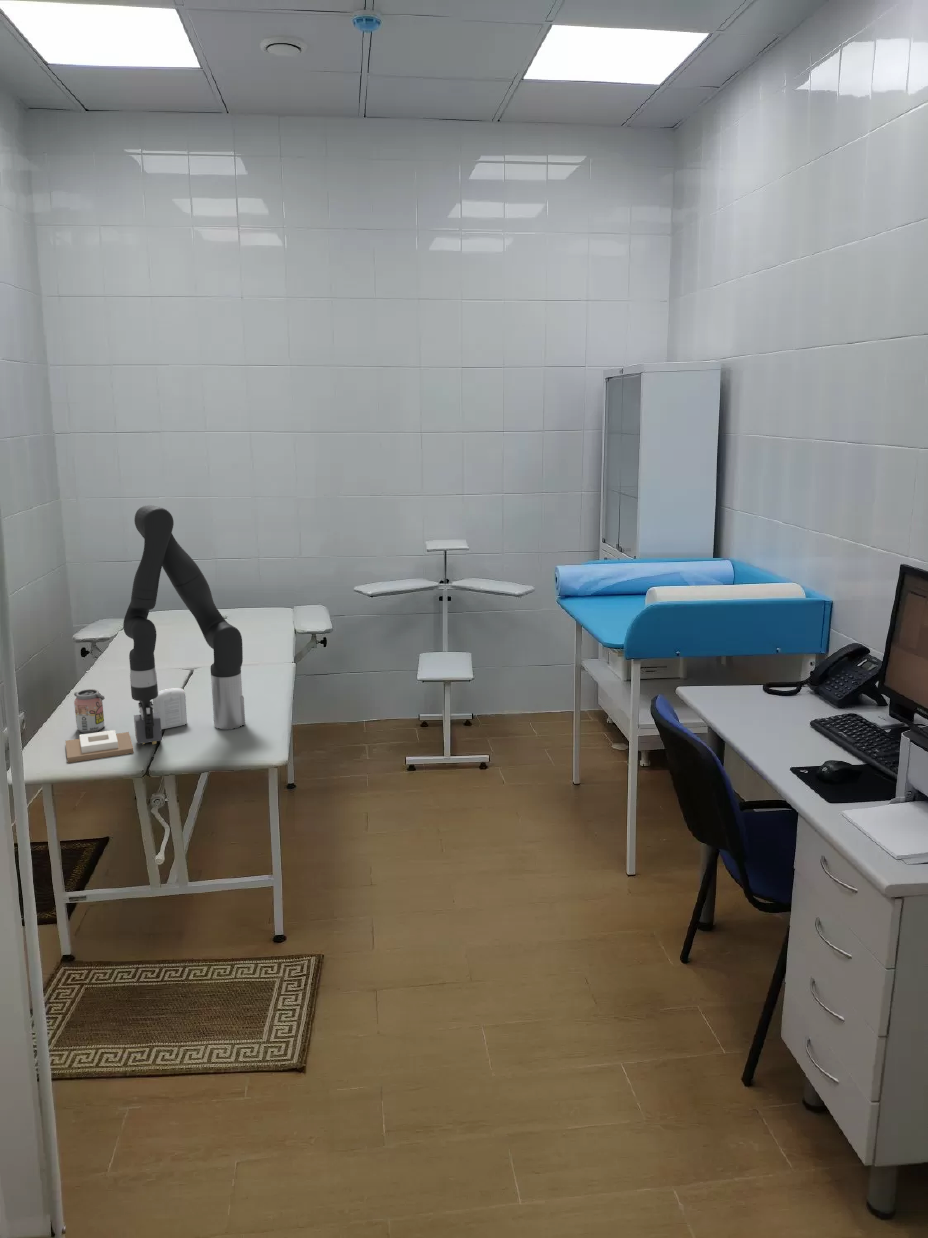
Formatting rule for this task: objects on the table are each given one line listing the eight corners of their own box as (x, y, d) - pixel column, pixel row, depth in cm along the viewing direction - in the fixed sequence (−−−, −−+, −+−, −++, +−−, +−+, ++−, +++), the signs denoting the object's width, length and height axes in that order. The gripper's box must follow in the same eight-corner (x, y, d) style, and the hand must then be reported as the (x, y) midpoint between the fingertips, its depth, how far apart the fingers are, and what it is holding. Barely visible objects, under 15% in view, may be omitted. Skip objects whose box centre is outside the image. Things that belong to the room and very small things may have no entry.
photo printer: (184, 720, 304) (182, 684, 300) (189, 724, 300) (186, 688, 297) (152, 727, 298) (149, 690, 295) (157, 731, 294) (153, 694, 291)
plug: (160, 738, 289) (157, 712, 287) (162, 744, 284) (160, 718, 282) (136, 741, 286) (133, 715, 284) (137, 748, 281) (135, 721, 279)
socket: (129, 736, 290) (128, 725, 289) (133, 753, 278) (132, 742, 277) (65, 745, 283) (64, 734, 282) (67, 762, 271) (66, 751, 270)
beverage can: (86, 722, 302) (82, 686, 299) (111, 723, 301) (108, 687, 298) (71, 732, 293) (67, 696, 290) (97, 734, 292) (93, 697, 289)
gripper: (160, 688, 276) (164, 740, 280) (154, 673, 288) (158, 723, 292) (132, 691, 273) (137, 743, 277) (128, 676, 285) (132, 727, 289)
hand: (148, 733), depth 284 cm, fingers open, 8 cm apart
